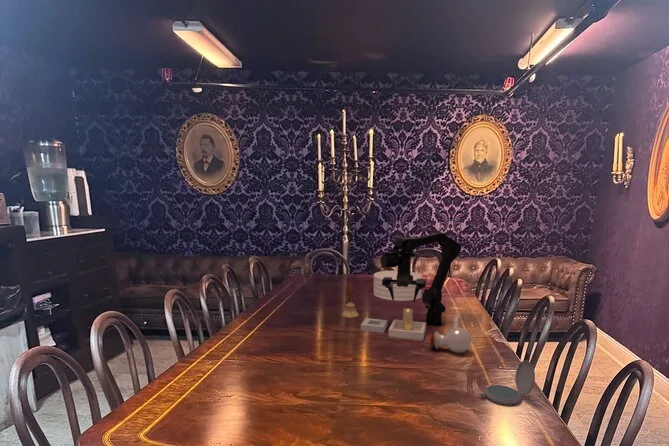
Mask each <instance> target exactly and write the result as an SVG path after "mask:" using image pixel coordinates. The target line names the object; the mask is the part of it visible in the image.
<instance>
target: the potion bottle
mask: <svg viewBox="0 0 669 446" xmlns="http://www.w3.org/2000/svg"><path fill="white" fill-rule="evenodd" d="M429 343H430V349H434V348H435V349H436V350H438V349H439V348H441V347H448V349H449V350H450V351H451V352H453V353H456V354H462V353H465V352H466V351H468V350H469V349H470V347H471V344H472V338H471V335H470V333H469V331H467V330H466V329H464V328H462V327H459V326H455V327H451V328H450V329H449V330H448V331H447V333H440V332H438V331H437V330H435V331H434V333H432V332H431V331H430V333H429Z"/></svg>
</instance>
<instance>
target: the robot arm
mask: <svg viewBox="0 0 669 446" xmlns="http://www.w3.org/2000/svg"><path fill="white" fill-rule="evenodd" d="M436 243H437V244H438V245H439V246H440V247H441V250H440V251H441V259H440V262H439V264H438V267H437V269H436V273H435V275H434V278H433V280H432V284H431V286H430V287H429V288H428V289H427V288H426V286H427V285H426V284H427V280H426V278H422V279H417V280H416V281H414V280H413V275H411V272H412V271H411V266H412V263H411V262H412V260H411V259H412V257H416V254H415V253H414V252H413V251H414V250H416V249H417V248H419V247H423V246H427V245H431V244H436ZM461 251H462V246H461V244H460V242H458V241H456V240H455V239H452V238H450V237H449V236H447V234H445V233H444V232H438V231H437V232H434V233H433V232H432V233H430V234H429V233H428V234H425V235H420V236H416V237H405V236H404V237H399V238H397V240H396V241H395V244H394V245H393V247H392V249H391V250H390V252H386V251H384V252H383V253H382V256H381V257H380V260H379V261H380V266H381V268H383V269H391V268H396V269H397V270H396V271H397V280H394V279H392V277H384V278H383V280H382V285H383V286H385V287H386V288H388V290H389V292H390V294H391V297H392V300H391V301H393V302H394V301H395V300H394V291H393V284H397V286H398V287H400V286H403V287H408V285H416V288H415V294H414V300H413V303H415V302H416V300H417V299H416V297H417V294H418V292H419V290H420V289H422V290H423V288H424V290H423V293H422V297H421V298H422V299H421V301H422V304H423V305H424V308H425V309H427V311H426V313H425V322H426V325H430V326H437V327H440V326H441V327H442V324H443V319H442V317H443V313H445V312H446V306H445V305H444V304H443V302H442V300H443V295H442V290H443V288H444V285H445V282H446V279H447V276H448V275H449V271H450V268H451V266H452V263H453V262H454V261H455V259H457V258H458V256H459V254H460V253H461Z"/></svg>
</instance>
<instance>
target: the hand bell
mask: <svg viewBox="0 0 669 446" xmlns="http://www.w3.org/2000/svg"><path fill="white" fill-rule="evenodd" d="M353 292H354V288H353V284H352V283H351V282H348V285H347V295H348V303H346V304H345V308H344V311H343V312H342V313H341V317H343V318H349V319H354V317H355V318H358V317H359V312H357V309H356V305H355V303H353Z"/></svg>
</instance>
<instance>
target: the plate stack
mask: <svg viewBox="0 0 669 446" xmlns="http://www.w3.org/2000/svg"><path fill="white" fill-rule="evenodd" d="M411 275H413V280H414V281H416V280H417V279H423V275H422V274H420V273H417V272H413V271H411ZM384 277H392V279H394V280H397V270H382V271H377V272H374V273H373V295H374V296H375V297H377V298H379V299H383V300H389V301H393V300H392V297H391V294H390V292H389V290H388V288H386V287H385V286H383V285H382V280H383V278H384ZM415 288H416V285H408V287H403V286H400V287H398V286H397V284H393V291H394V301H401V302H402V301H414V294H415ZM422 295H423V288H422V289H420V290H419V292H418V294H417V297H416V300H418V299H420V298H423V297H422Z"/></svg>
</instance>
